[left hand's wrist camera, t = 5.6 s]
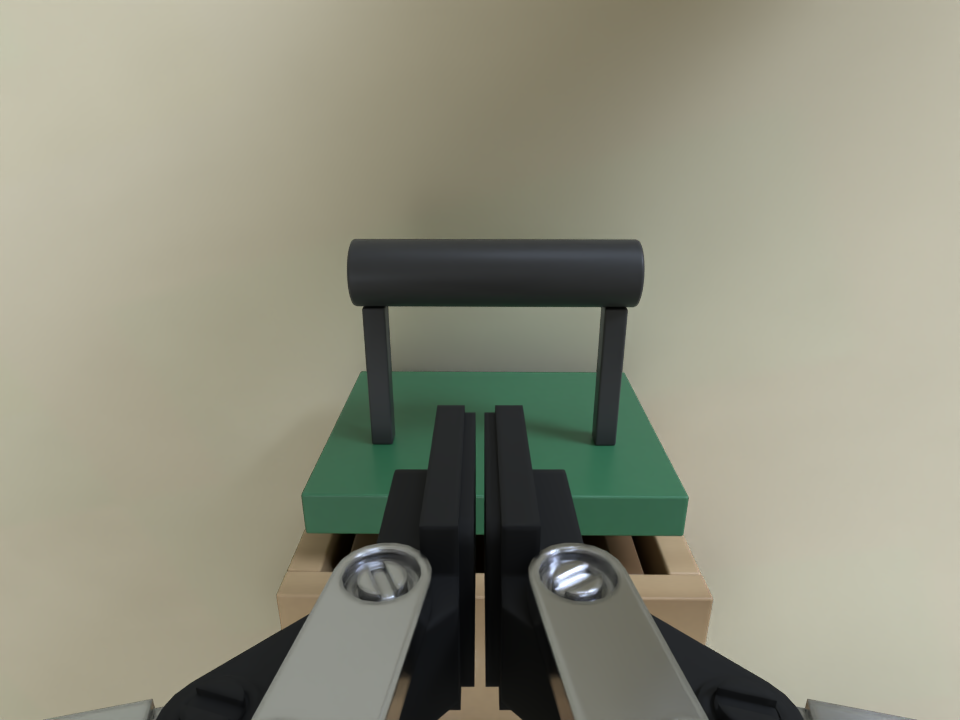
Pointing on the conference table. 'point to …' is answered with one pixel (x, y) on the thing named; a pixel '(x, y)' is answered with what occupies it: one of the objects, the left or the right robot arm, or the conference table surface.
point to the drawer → (500, 389)
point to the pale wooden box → (663, 588)
